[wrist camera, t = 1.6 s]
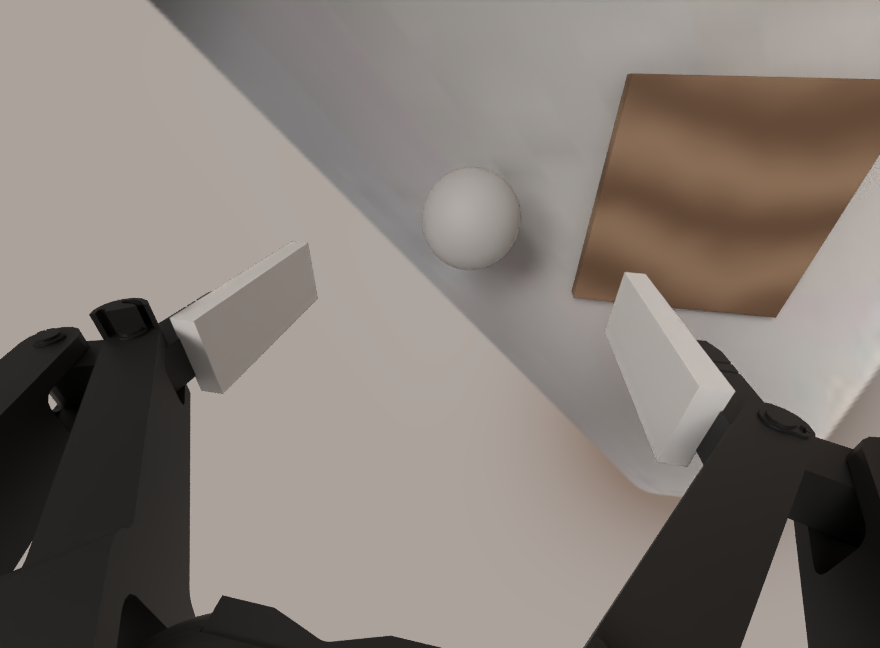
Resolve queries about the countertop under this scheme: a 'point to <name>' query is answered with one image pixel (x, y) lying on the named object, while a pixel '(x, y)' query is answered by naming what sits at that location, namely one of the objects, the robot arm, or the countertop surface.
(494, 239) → the lightbulb
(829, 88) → the plate
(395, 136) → the countertop surface
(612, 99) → the countertop surface
